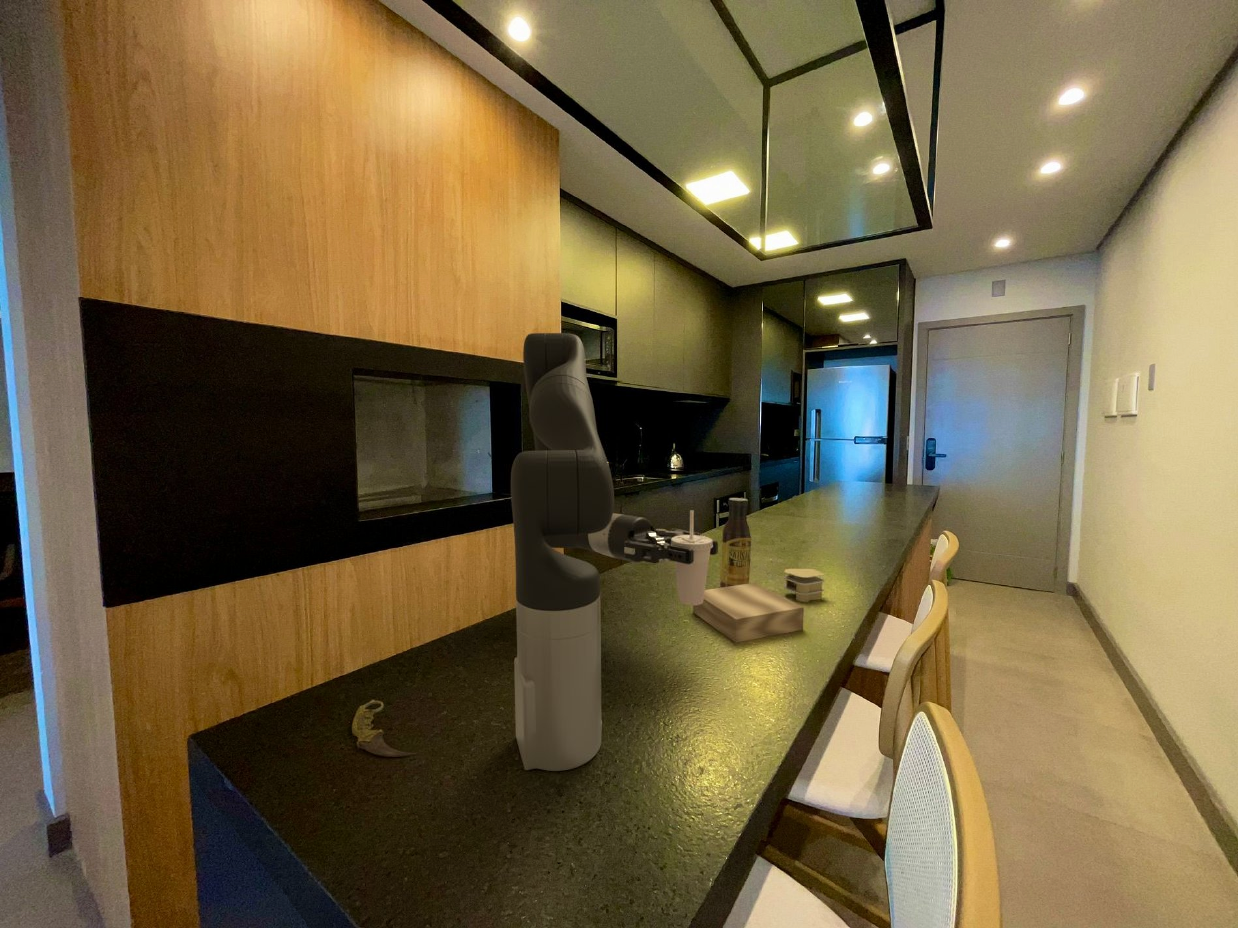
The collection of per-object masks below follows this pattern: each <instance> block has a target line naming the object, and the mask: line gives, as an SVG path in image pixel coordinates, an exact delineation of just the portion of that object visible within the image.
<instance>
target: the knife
mask: <svg viewBox="0 0 1238 928" xmlns="http://www.w3.org/2000/svg"><path fill="white" fill-rule="evenodd" d="M372 705H380V706H379V707H378V708H376V709H368V707H369V706H372ZM384 707H385V706H384V703H383V701H380V700H375V699H372V700H370V701H369V702H367V703H365V704H363V705H360V706H359V707H358V709H357V710H356V711H355V715H354V717H353V720H352V724H351V731H352V732H351V733H352V735H353V736H355V737H357V741H356V746H357V748H358V749H361V750H365V751H367V752H368V753H370V754H374V755H377V756H382V757H387V758H402V757H404V758H405V757H411V756H414V755H419V754H422V752H406V751H400V750H398V749H395V748H392V747H390V745H388V744H387V743H386V742H385V741H384V738H383V736H384V730H383V729H373V727H374V726H375V725H374V724H372V721H373V720H374V719H375V717H374V716H373V715H375V714H376V713H377V714H378V712H380V711H382V710H383V708H384Z"/></svg>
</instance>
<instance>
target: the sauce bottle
mask: <svg viewBox="0 0 1238 928" xmlns="http://www.w3.org/2000/svg"><path fill="white" fill-rule="evenodd" d="M728 506H729V509H728V515H727V516H728V520H727V521H726V522H725V524H724V527H723V528H722V538H721V551H720V552H721V554H720V568H719V569H720V571H719V572H720V573H719V580H720V582H719V583H720V584H719V585H720V588H722V587H729V586H736V585H743V584H749V583H750V573H751V571H750V570H751V568H750V567H751V554H752V553H751V550H752V536H751V535H752V534H751V530H750V526H749V523H748V520H747V518H748V517H747V513H748V511H747V509H748V506H749V500H748V499H747V498H743V497H741V498H739V497H730V498H728Z"/></svg>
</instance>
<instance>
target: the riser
mask: <svg viewBox="0 0 1238 928" xmlns="http://www.w3.org/2000/svg"><path fill="white" fill-rule="evenodd" d="M804 610H805V609H804V606H802V605H800V604H798V603H796V602H794V601H792V600H790V599H788V598H786V597H784V596H782V595H779V594H778V593H776V592H773V591H772V590H770V589H767V588H765V587H764V586H761V585H759V584H758V583H756V582H751V583H750V582H749V584H743V585H736V586H729V587H722V588H721V587H716V588H709V589H705V592H704V600H703V603H702V604H700V605H692V613H694V614H695V615H696V616H698V617H700V619H702V621H704V622H706V623H708V624H709V625H710V626H712V627H713V628H715V630H717V631H719V632H720V633H721V634H722V635H724V636H726V637H727V638H728V639H730V640H731V642H734V643H735V644H737V643H741V642H746V641H747V642H748V641H752V640H756V639H762V638H767V637H772V636H776V635H782V634H787V633H792V632H796V631H797V632H798V631H803V630H804V617H805V616H804V615H805V614H804Z"/></svg>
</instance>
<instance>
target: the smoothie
mask: <svg viewBox="0 0 1238 928" xmlns="http://www.w3.org/2000/svg"><path fill="white" fill-rule="evenodd" d="M694 513H695V511H694V509H693V510H691V509H690V510H689V531H690V535H680V536H675V537H673V538H671V545H675V546H680V547H686V548H691V549H693V551H694V561H693V563H691V564H684V563H679V562H675V561H674V567H675V568H674V569H675V574H676V575H675V576H676V577H675V578H676V586H677V595H678V602H679V603H681V604H682V605H687V606H693V605H700V604H702V603H703V600H704V592H705V590H706V585H707V576H708V571H709V569H708V568H709V562H710V549H711V548H712V547H713V540H714V539H712V538H710V537H707V536H704V535H700V536H699V535H693V532H694V522H695V521H694V517H695V516H694Z"/></svg>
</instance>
